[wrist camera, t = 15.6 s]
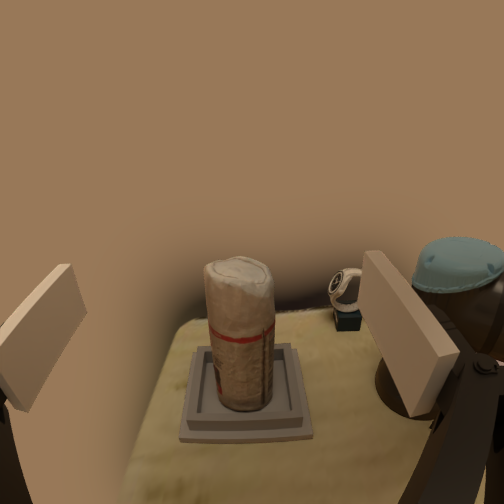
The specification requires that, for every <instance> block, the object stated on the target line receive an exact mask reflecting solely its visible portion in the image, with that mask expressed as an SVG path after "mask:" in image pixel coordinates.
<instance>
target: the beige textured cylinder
mask: <svg viewBox="0 0 504 504" xmlns="http://www.w3.org/2000/svg"><path fill="white" fill-rule="evenodd" d="M204 281H205V291H206V304H207V310H208V324H209V333H210V341H211V351H212V357H213V367H214V373H215V379H216V386H217V394H218V397H219V400H220V402H221V403H222V404H223V405H224V406H226V407H228V408H230V409H233V410H236V411H251V410H252V411H253V410H259V409H261V408H263V407H264V406H265V405H266V404H268V403H269V402H270V401H271V399H272V395H273V391H272V389H273V367H274V365H273V364H274V337H275V309H274V308H275V307H274V288H275V287H274V285H275V284H274V280H273V278H272V275H271V272H270V270H269V269H268V267H267V266H266V265H264V264H263V263H261V262H259V261H256V260H253V259H251V258H248V257H242V256H237V257H232V258H230V259H228V260H225V261H221V260H217V261H214V262H212V263H209V264H207V265H206V266H205V267H204Z"/></svg>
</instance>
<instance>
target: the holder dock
mask: <svg viewBox="0 0 504 504" xmlns="http://www.w3.org/2000/svg"><path fill="white" fill-rule="evenodd" d="M273 365H274V367H273V389H272V391H273V395H272V399H271V401H270V402H269V403H268V404H266V405H265V406H264V407H263V408H261V409H259V410H253V411H252V410H251V411H236V410H233V409H230V408H228V407H226V406H224V405H223V404H222V403H221V402H220V400H219V397H218V394H217V386H216V379H215V373H214V367H213V357H212V351H211V346H198V348H197V352H193V355H192V361H191V366H190V372H189V378H188V384H187V390H186V395H185V401H184V408H183V414H182V420H181V426H180V433H179V440H180V442H185V443H212V444H240V443H267V442H282V441H294V440H305V439H312V438H313V430H312V425H311V419H310V414H309V409H308V403H307V398H306V393H305V388H304V383H303V377H302V372H301V367H300V362H299V357H298V352H297V349H291V344H290V343H283V344H274V364H273Z"/></svg>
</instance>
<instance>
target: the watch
mask: <svg viewBox="0 0 504 504" xmlns="http://www.w3.org/2000/svg"><path fill="white" fill-rule="evenodd" d="M361 274H362V270H361V269H357V268H349V269H348V268H347V269H345V270H340V271H338V272H337V273H336V274H335V275H334V276H333V278H332V280H331V282H330V284H329V287H328V294H329V295H330V299H331V303H332V305H333V306H334V311H333V315H334V320H335V325H336V330H337V331H359V330H360V325H361V320H362V316H361V313H360V310H359V308H358V306H357V302H358V299H357V301H356V300H354V301H335V299H336V298H337V297H339V296H340V295H342V294H343V292H344V291H345V289H346V287H347V285H348V282H349V281H350V280H351V279H352V277H351V276H361Z"/></svg>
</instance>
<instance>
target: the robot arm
mask: <svg viewBox="0 0 504 504" xmlns="http://www.w3.org/2000/svg"><path fill="white" fill-rule="evenodd" d="M357 306H358V308H359V310H360V312H361V314H362V316H363V318H364V320H365V322H366V324H367V326H368V328H369V330H370V332H371V334H372V336H373V338H374V340H375V342H376V344H377V346H378V348H379V350H380V352H381V354H382V356H383V357H382V359H381V361H380V363H379V366H378V369H377V372H376V377H375V384H376V389H377V391H378V394H379V396H380V397H381V399H382V400H383V401H384V403H385V404H386V405H387V406H388V407H390V408H391V409H392V410H393V411H395V412H397V413H398V414H400V415H403V416H405V417H408V418H412V419H417V420H431V419H434V421H433V422H432V424H431V426H430V427H429V428H430V429H432V430H431V433H430V435H429V438H428V440H427V443H426V445H425V448H424V450H423V452H422V455H421V457H420V459H419V461H418V464H417V466H416V468H415V470H414V472H413V475H412V477H411V479H410V481H409V483H408V485H407V487H406V489H405V491H404V493H403V495H402V497H401V498H400V500H399V502H398V504H474V503H475V500H476V497H477V494H478V491H479V487H480V484H481V481H482V477H483V474H484V470H485V466H486V483H485V498H484V504H504V366H499V364H498V362H497V361H496V360H498V361H501V362H504V252H503V251H502V250H501V249H500V248H498V247H497V246H495V245H491V244H490V243H489V242H486V241H483V240H479V239H474V238H468V237H447V238H441V239H438V240H435V241H432V242H430V243H429V244H427V245H426V246H425V247H424V248H423V249H422V251H421V253H420V255H419V258H418V262H417V266H416V270H415V272H414V274H413V276H412V287H411V286H410V285H409V284H408V282H407V281H406V280H405V279H404V278H403V276H402V275H401V274H400V273H399V271H398V270H397V269H396V268H395V267H394V266H393V264H392V263H391V262H390V261H389V260H388V258H387V257H386V256H385V255H384V254H383V253H382V251H381V250H376V251H364V259H363V267H362V274H361V282H360V289H359V296H358V302H357ZM86 314H87V311H86V308H85V305H84V303H83V300H82V297H81V294H80V290H79V287H78V284H77V281H76V278H75V275H74V271H73V268H72V264H59V265H58V266H57V267H56V268H55V269H54V270H53V271H52V272H51V273H50V274H49V275H48V276H47V277H46V278H45V279H44V280H43V281H42V282H41V283H40V284H39V285H38V286H37V287H36V288H35V289H34V291H33V292H32V293H31V294H30V295H29V296H28V297H27V298H26V299H25V300H24V301H23V302H22V304H21V305H20V306H19V307H18V308H17V309H16V310H15V311H14V312H13V314H12V315H11V316H10V317H9V318H8V319H7V321H5V322H4V323H3V324H2V325H1V326H0V504H33V503H32V501H31V497H30V494H29V492H28V489H27V486H26V483H25V479H24V476H23V473H22V469H21V466H20V462H19V458H18V454H17V451H16V446H15V442H14V438H13V433H12V428H11V423H10V418H9V412H8V409H7V407H6V406H5V404H4V403H5V401H6V399H8V400H9V401H10V403H11V404H12V406H13V407H14V408H15V409H17V410H21V411H24V412H27V413H28V412H29V411H30V409H31V407H32V405H33V403H34V401H35V399H36V397H37V395H38V394H39V392H40V390H41V388H42V386H43V384H44V383H45V381H46V379H47V377H48V376H49V374H50V372H51V371H52V369H53V367H54V365H55V363H56V362H57V360H58V358H59V357H60V355H61V354H62V352H63V350H64V349H65V347H66V345H67V344H68V342H69V340H70V338H71V337H72V336H73V334H74V333H75V331H76V329H77V327H78V326H79V325H80V323H81V322H82V320H83V318H84V317H85V315H86Z"/></svg>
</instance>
